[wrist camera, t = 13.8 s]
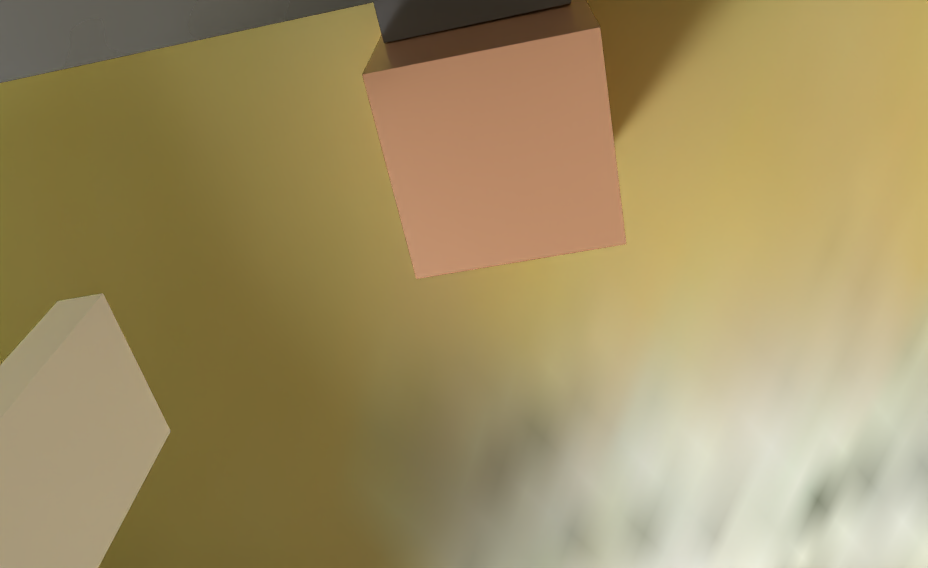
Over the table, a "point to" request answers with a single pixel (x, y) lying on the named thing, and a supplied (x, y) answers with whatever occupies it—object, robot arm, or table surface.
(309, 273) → the table surface
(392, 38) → the bar
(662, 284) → the table surface
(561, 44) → the tan block
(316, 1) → the block
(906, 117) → the table surface
